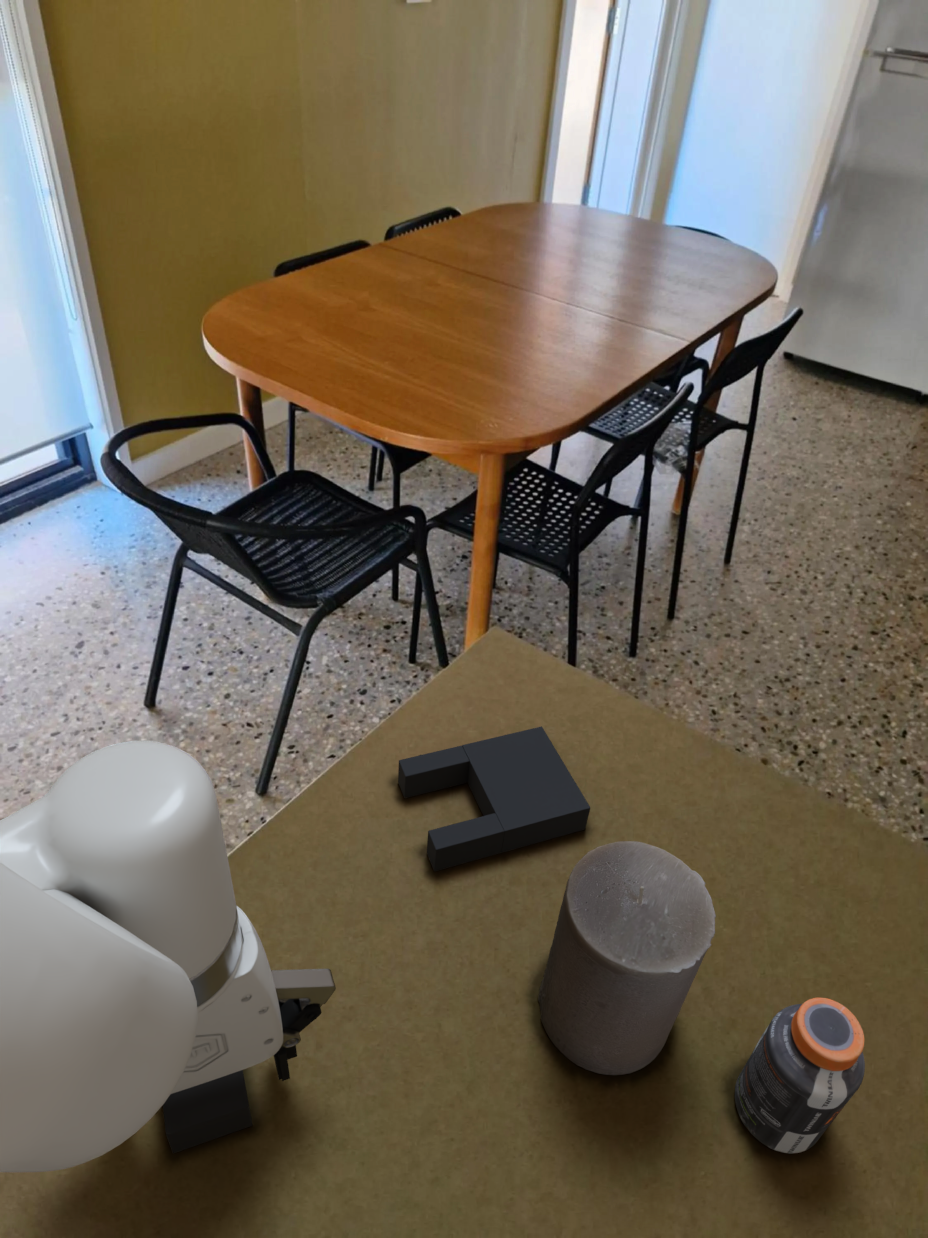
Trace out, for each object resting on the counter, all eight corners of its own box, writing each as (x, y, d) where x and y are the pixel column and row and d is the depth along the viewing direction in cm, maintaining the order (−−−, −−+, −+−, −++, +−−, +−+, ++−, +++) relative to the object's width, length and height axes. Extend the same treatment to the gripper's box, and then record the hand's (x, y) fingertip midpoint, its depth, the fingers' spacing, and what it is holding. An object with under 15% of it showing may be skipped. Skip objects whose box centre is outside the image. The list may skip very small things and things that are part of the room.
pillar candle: (512, 988, 66) (536, 867, 56) (611, 927, 70) (649, 806, 61) (596, 1106, 60) (639, 993, 50) (699, 1030, 64) (756, 914, 55)
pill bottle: (820, 1170, 58) (884, 1094, 50) (728, 1136, 59) (778, 1057, 52) (822, 1081, 62) (881, 999, 55) (736, 1051, 63) (783, 967, 56)
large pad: (434, 872, 73) (435, 850, 71) (397, 782, 80) (398, 759, 78) (585, 829, 78) (590, 807, 76) (538, 748, 85) (542, 726, 83)
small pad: (172, 1154, 56) (165, 1135, 54) (163, 1076, 59) (156, 1056, 57) (252, 1126, 57) (248, 1106, 55) (239, 1052, 61) (235, 1031, 59)
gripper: (-19, 1067, 41) (64, 1197, 52) (346, 955, 46) (352, 1094, 57) (-15, 927, 46) (60, 1072, 57) (313, 841, 52) (324, 989, 63)
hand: (206, 1083), depth 57 cm, fingers open, 9 cm apart
